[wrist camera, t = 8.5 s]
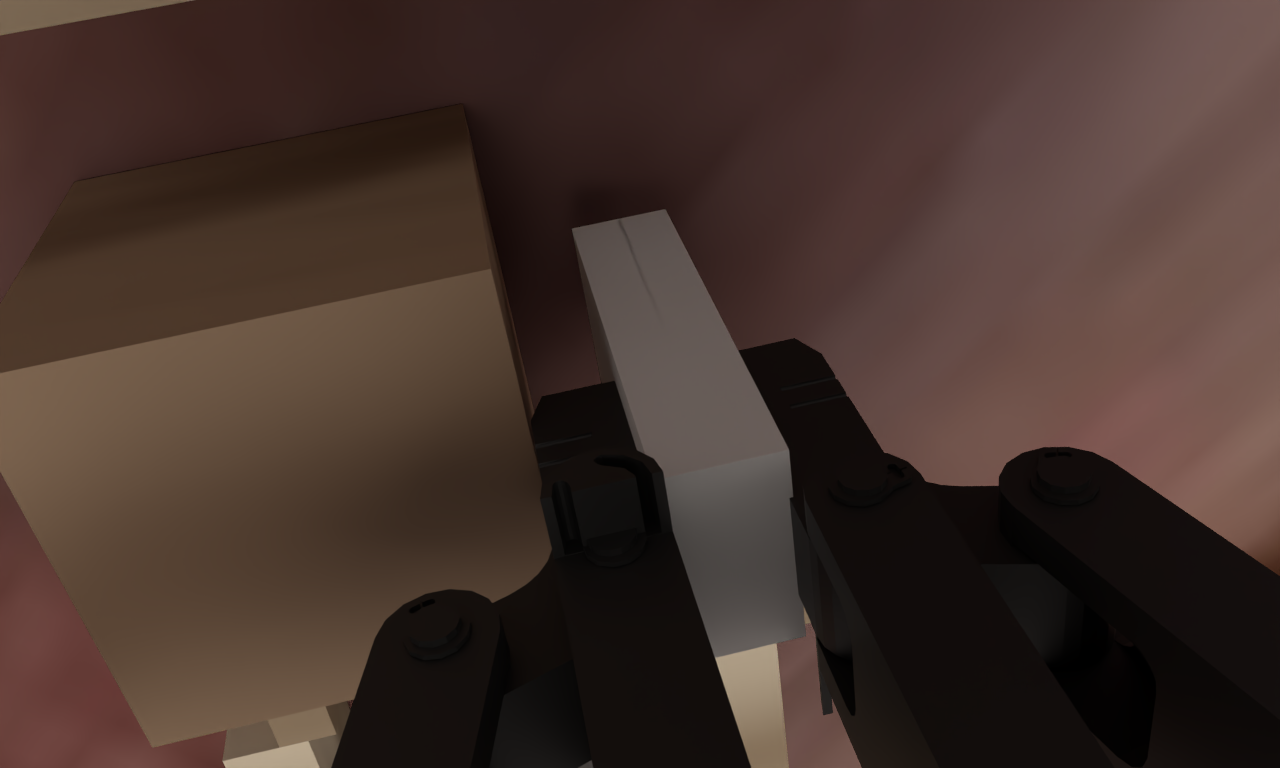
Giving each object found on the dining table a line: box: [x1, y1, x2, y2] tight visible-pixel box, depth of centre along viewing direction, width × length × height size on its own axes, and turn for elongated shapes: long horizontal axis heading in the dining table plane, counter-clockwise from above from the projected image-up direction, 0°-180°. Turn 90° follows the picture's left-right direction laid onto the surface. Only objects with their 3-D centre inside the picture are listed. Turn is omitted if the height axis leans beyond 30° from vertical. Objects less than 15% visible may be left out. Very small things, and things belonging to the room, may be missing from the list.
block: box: [0, 104, 552, 748], centre depth 17 cm, size 6×6×6 cm
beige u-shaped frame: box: [0, 0, 811, 768], centre depth 20 cm, size 22×11×3 cm, turn 8°
